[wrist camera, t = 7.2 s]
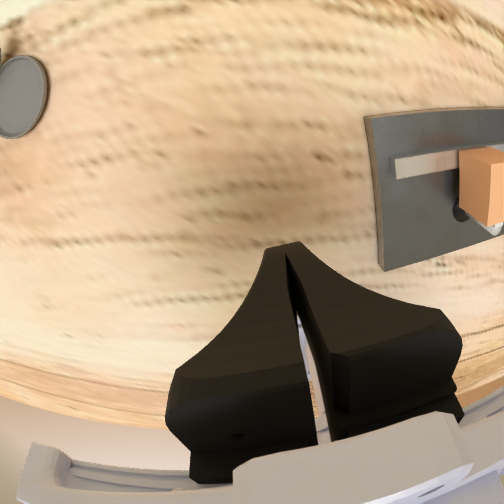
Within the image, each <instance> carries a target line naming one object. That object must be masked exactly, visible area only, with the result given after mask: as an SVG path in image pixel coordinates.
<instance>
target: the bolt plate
mask: <svg viewBox="0 0 504 504" xmlns="http://www.w3.org/2000/svg"><path fill="white" fill-rule="evenodd" d="M364 120H365V126H366V132H367V139H368V146H369V153H370V160H371V168H372V176H373V186H374V196H375V207H376V220H377V236H378V259H379V265H380V267H381V268H382V270H383V271H384V272H386V271H389V270H393V269H396V268H400V267H403V266H407V265H410V264H413V263H417V262H420V261H423V260H427V259H430V258H433V257H437V256H440V255H443V254H446V253H449V252H452V251H456V250H459V249H462V248H465V247H468V246H471V245H474V244H477V243H480V242H483V241H486V240H489V239H492V238H495V237H498V236H500V235H503V234H504V222H503V226H502V228H501V231H500V232H499V234H497V235H495V236H494V235H492V234H491V233H490V232H489V231H487V230H486V229H485V228H483V227H482V226H481V225H479V224H478V223H477V222H475V221H474V220H473V219H471V218H470V217H469V216H467V215H466V214H465V211H464V210H463V209H462V208H460V207H459V188H460V169H459V151H461V150H468V149H476V148H484V147H492V148H495V149H498V150H500V151H503V152H504V107H467V108H445V109H430V110H418V111H407V112H398V113H389V114H381V115H373V116H366V117H364Z"/></svg>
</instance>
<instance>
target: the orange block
mask: <svg viewBox="0 0 504 504" xmlns="http://www.w3.org/2000/svg"><path fill="white" fill-rule="evenodd" d="M459 169H460V188H459V207H460V208H462V209H463V210H464V211H465V214H466V215H467V216H469V217H470V218H471V219H473V220H474V221H475V222H477V223H478V224H479V225H481V226H482V227H483V228H485V229H486V230H487V231H489V232H490V233H491V234H492V235H494V236H495V235H497V234H499V232H500V231H501V228H502V226H503V222H504V152H503V151H500V150H498V149H495V148H492V147H484V148H476V149H468V150H461V151H459Z"/></svg>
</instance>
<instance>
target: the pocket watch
mask: <svg viewBox="0 0 504 504" xmlns="http://www.w3.org/2000/svg"><path fill="white" fill-rule="evenodd" d="M0 61H1V48H0ZM46 94H47V80H46V75H45V72H44V69H43V67H42V65H41V64H40V63H39V62H38V61H37V60H36V59H34V58H33V57H30V56H25V55H20V56H15V57H13V58H11V59H9V60H8V61H6V62H5V63H4V64H3V65H2V66H1V65H0V136H1V137H3V138H6V139H14V138H19V137H21V136H22V135H24V134H26V133H27V132H29V131H30V130H31V129H32V128H33V127H34V125H35V124H36V123H37V121H38V120H39V118H40V116H41V114H42V111H43V108H44V105H45V102H46Z"/></svg>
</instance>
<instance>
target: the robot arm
mask: <svg viewBox="0 0 504 504" xmlns="http://www.w3.org/2000/svg"><path fill="white" fill-rule="evenodd" d="M297 314H298V316H297ZM299 324H301V325H299ZM462 346H463V344H462V338H461V336H460V335H459V333H458V332H457V330H456V329H455V327H454V326H453V324H452V323H451V322H450V320H449V319H448V318H447V317H446V316H445V315H444V313H443V312H442V311H441V310H440V309H436V308H430V307H425V306H420V305H414V304H410V303H406V302H403V301H399V300H396V299H392V298H389V297H386V296H384V295H381V294H378V293H376V292H373V291H371V290H369V289H366V288H364V287H362V286H360V285H358V284H356V283H354V282H352V281H350V280H348V279H347V278H345V277H343V276H342V275H340V274H339V273H337V272H336V271H334V270H333V269H332V268H330V267H329V266H328V265H326V264H325V263H324V262H322V261H321V260H320V259H319V258H318V257H316V256H315V255H314V254H313V253H312V252H311V251H310V250H308V249H307V248H306V247H305V246H304V245H303V244H302V243H301V242H299V241H298V242H294V243H289V244H285V245H280V246H276V247H271V248H267V249H266V250H265V251H264V255H263V259H262V262H261V265H260V268H259V271H258V273H257V276H256V278H255V281H254V283H253V285H252V287H251V289H250V291H249V293H248V295H247V296H246V298H245V300H244V301H243V303H242V305H241V306H240V308H239V309H238V311H237V312H236V314H235V315H234V316H233V318H232V319H231V320H230V321H229V323H228V324H227V325H226V326H225V327H224V329H223V330H222V331H221V332H220V333H219V334H218V335H217V336H216V337H215V338H214V339H213V340H212V341H211V342H210V343H209V344H208V345H207V346H205V347H204V348H203V349H202V350H201V351H200V352H199V353H197V354H196V355H195V356H193V357H192V358H191V359H189V360H188V361H187V362H185V363H184V364H183V365H182V366H180V367H179V368H177V369H176V370H175V374H174V377H173V380H172V383H171V387H170V390H169V395H168V401H167V407H166V414H165V422H166V425H167V427H168V428H169V430H170V431H171V432H172V433H173V434H174V435H175V436H176V437H177V438H178V439H179V440H180V441H181V442H182V443H183V444H184V445H185V446H186V447H187V448H188V449H189V450H190V451H191V456H190V470H189V471H181V470H180V471H179V470H151V469H138V468H126V467H117V466H110V465H102V464H96V463H89V462H84V461H78V460H73V459H71V458H70V457H69V456H68V455H67V454H65V453H64V452H62V451H61V450H59V449H57V448H55V447H52V446H48V445H43V444H39V443H35V442H34V443H32V444H31V447H30V450H29V453H28V456H27V459H26V463H25V466H24V469H23V472H22V476H21V479H20V482H19V486H18V490H17V494H16V499H17V500H19V501H20V502H22V503H24V504H504V488H503V485H502V482H501V480H500V476H501V475H503V474H504V386H503V387H501V388H500V389H498V390H496V391H494V392H492V393H491V394H489V395H487V396H485V397H483V398H482V399H480V400H478V401H476V402H474V403H472V404H470V405H468V406H466V407H464V408H461V406H460V403H459V402H458V400H457V398H456V396H455V394H454V392H456V390H457V387H456V384H455V383H454V381H453V379H452V375H453V372H454V370H455V368H456V365H457V363H458V360H459V357H460V354H461V350H462ZM308 380H312V385H313V390H314V394H315V399H316V404H317V409H318V414H319V417H316V418H314V412H313V406H312V400H311V394H310V388H309V382H308Z"/></svg>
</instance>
